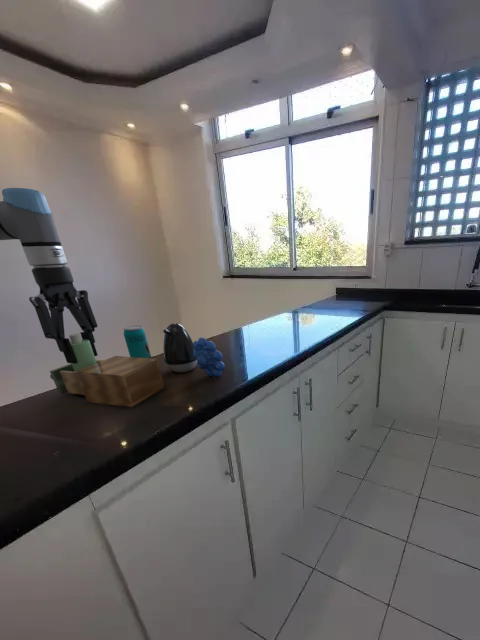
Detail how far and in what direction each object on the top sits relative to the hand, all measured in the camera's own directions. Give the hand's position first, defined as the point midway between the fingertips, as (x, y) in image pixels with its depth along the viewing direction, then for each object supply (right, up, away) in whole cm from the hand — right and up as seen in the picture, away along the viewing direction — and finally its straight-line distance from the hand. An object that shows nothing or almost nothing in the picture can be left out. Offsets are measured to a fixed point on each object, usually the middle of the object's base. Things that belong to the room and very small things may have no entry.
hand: (82, 358), depth 84 cm
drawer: (-1, -8, +4) cm, 9 cm away
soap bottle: (0, -7, +3) cm, 7 cm away
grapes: (+31, -4, +11) cm, 33 cm away
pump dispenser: (+21, -2, +17) cm, 27 cm away
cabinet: (+12, -10, +1) cm, 15 cm away
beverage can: (+10, -3, +15) cm, 18 cm away
